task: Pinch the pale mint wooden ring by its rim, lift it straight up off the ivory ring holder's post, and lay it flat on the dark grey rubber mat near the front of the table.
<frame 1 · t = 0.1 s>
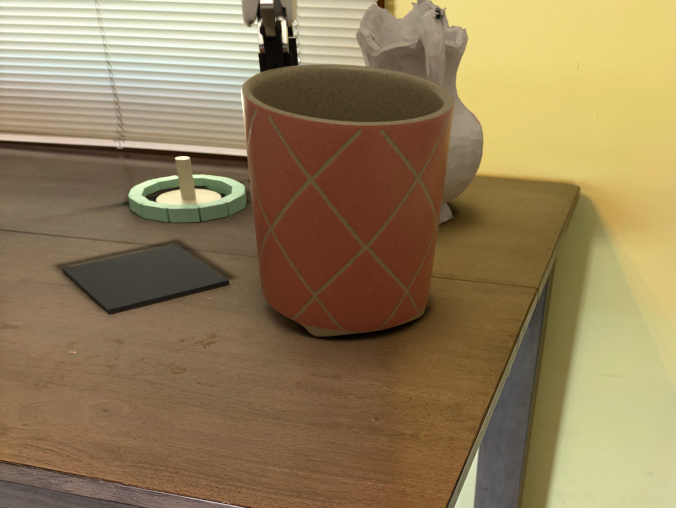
hand: (282, 90, 79), 18 cm above the table, tool pointing down, fingers open, 9 cm apart
ceramic pitcher: (412, 218, 105), on the table
ring holder: (189, 204, 107), on the table
planter: (345, 301, 82), on the table, touching gripper
ring: (189, 204, 107), on the table
mat: (145, 278, 86), on the table
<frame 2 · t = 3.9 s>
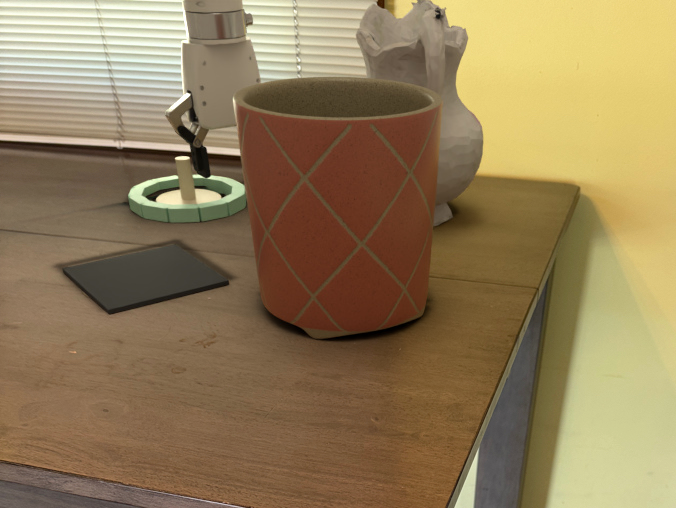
hand: (234, 169, 108), 3 cm above the table, tool pointing down, fingers open, 9 cm apart
planter: (345, 307, 82), on the table
everything else where it was.
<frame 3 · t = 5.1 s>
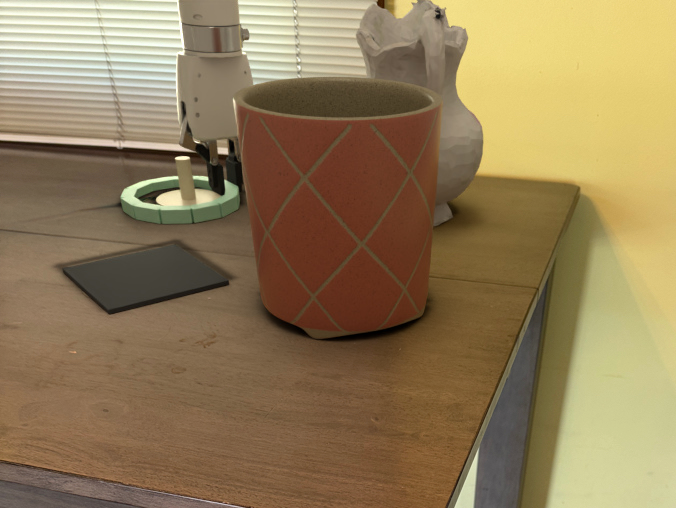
hand: (226, 190, 109), 1 cm above the table, tool pointing down, fingers closed on ring, 2 cm apart
ring: (182, 205, 106), on the table, touching gripper
everything else where it was.
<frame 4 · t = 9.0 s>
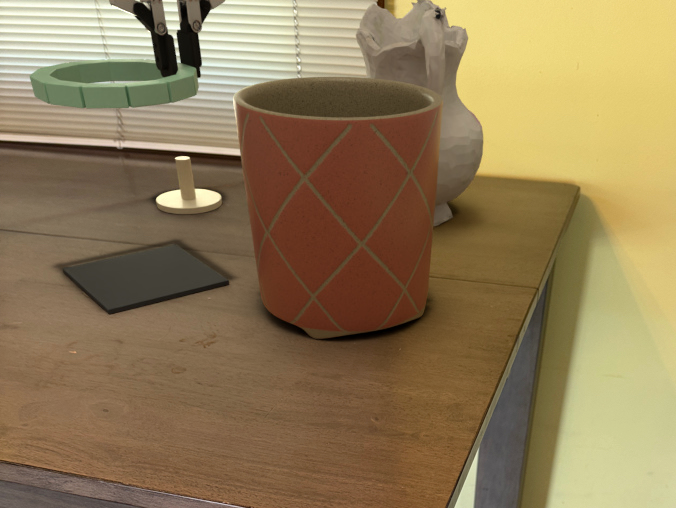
hand: (180, 75, 80), 19 cm above the table, tool pointing down, fingers closed on ring
ring: (119, 92, 78), point 18 cm above the table, touching gripper
everything else where it was.
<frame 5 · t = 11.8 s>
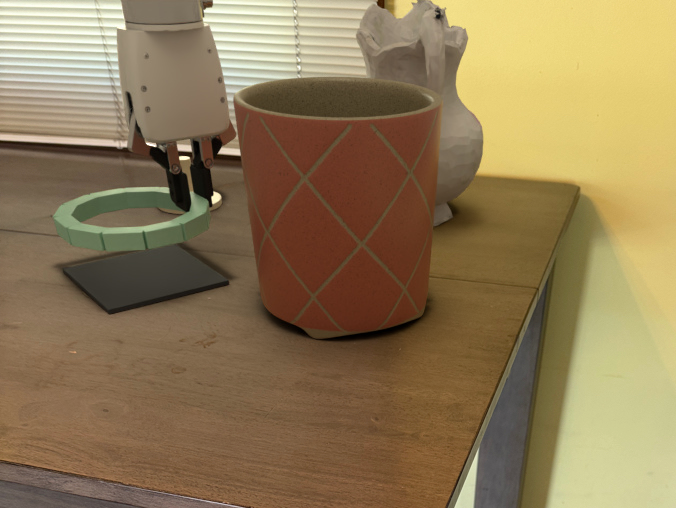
hand: (193, 205, 85), 7 cm above the table, tool pointing down, fingers closed on ring
ring: (136, 225, 82), point 6 cm above the table, touching gripper
everything else where it was.
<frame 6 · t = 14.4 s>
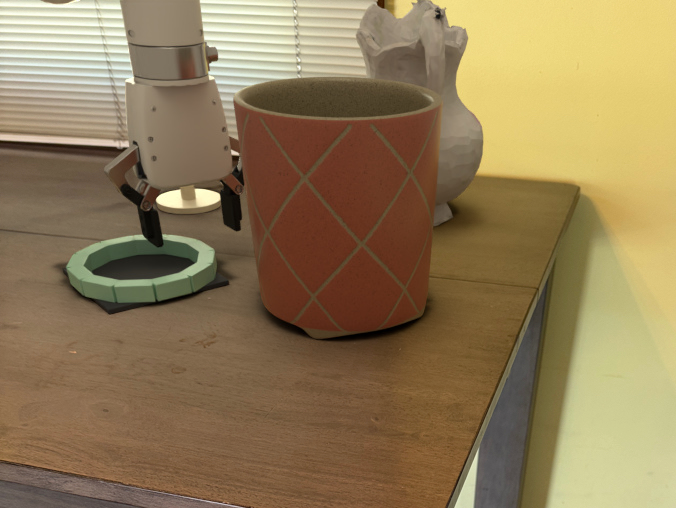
hand: (195, 235, 87), 3 cm above the table, tool pointing down, fingers open, 9 cm apart
ring: (145, 274, 86), resting on mat
everything else where it was.
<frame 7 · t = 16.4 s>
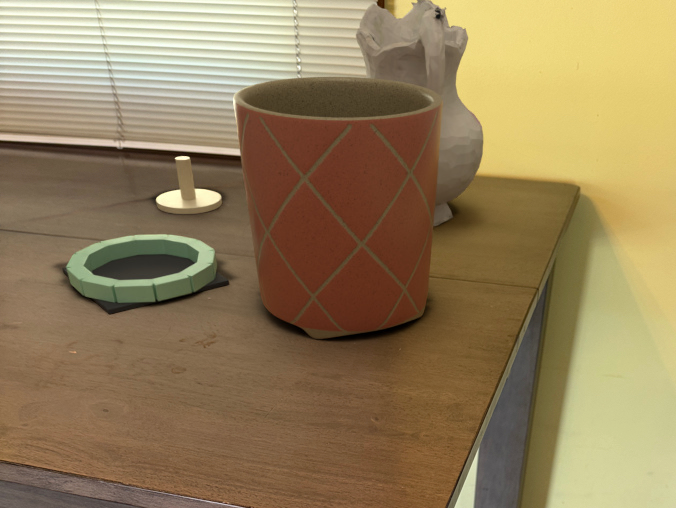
nothing on the table moved.
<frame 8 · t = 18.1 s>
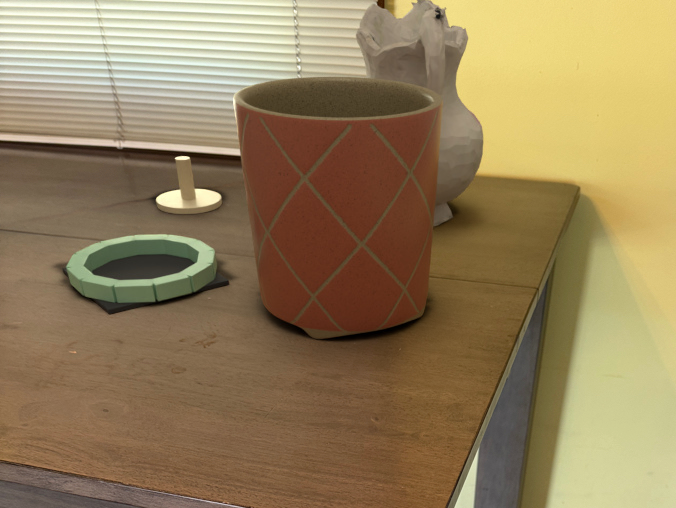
nothing on the table moved.
at the end: ring inside the target area on the mat (0.1 cm from its centre), point 0.5 cm above the mat's base; ring tilted 0°; ring touching mat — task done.
